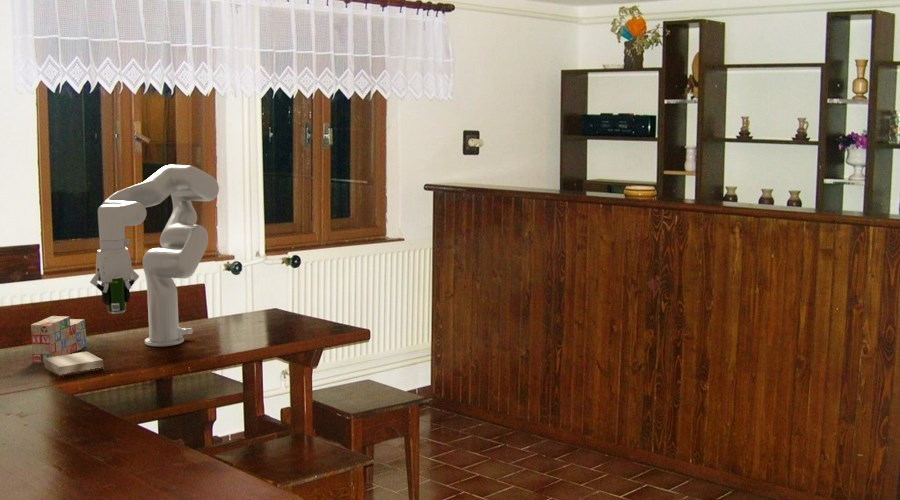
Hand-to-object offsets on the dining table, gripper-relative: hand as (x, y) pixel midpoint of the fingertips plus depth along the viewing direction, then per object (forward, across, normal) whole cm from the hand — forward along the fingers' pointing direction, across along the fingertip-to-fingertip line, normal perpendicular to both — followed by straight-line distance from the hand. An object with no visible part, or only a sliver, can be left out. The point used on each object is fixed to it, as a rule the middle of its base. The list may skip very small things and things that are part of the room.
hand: (116, 302), depth 321 cm
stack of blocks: (+19, +12, -19) cm, 29 cm away
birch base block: (+18, +15, +1) cm, 23 cm away
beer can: (+3, 0, 0) cm, 3 cm away
